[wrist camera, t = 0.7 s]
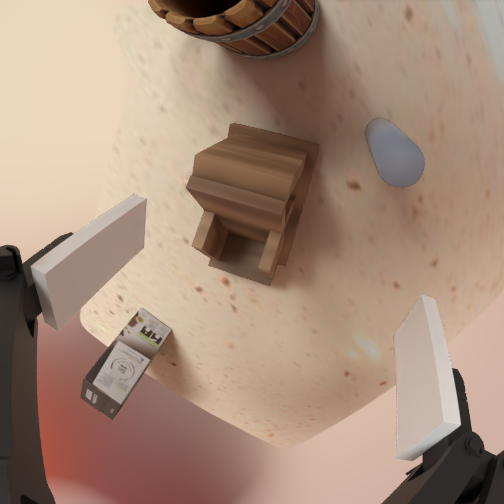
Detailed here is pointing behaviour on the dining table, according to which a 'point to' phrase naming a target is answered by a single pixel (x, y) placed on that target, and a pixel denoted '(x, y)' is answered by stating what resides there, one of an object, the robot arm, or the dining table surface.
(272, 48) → the mug
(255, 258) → the socket block
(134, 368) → the coffee box
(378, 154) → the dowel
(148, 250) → the dining table surface
